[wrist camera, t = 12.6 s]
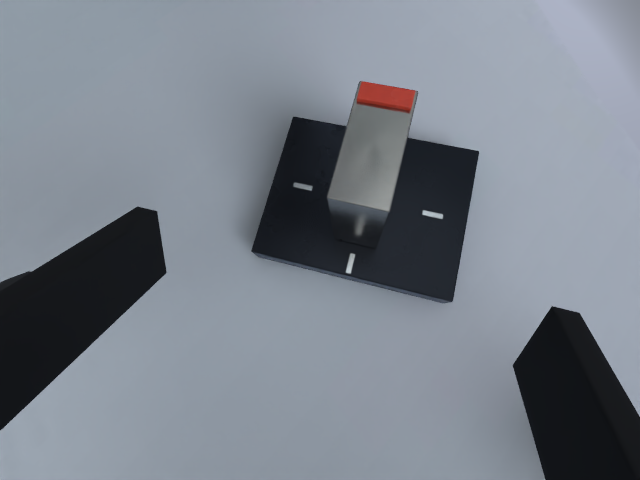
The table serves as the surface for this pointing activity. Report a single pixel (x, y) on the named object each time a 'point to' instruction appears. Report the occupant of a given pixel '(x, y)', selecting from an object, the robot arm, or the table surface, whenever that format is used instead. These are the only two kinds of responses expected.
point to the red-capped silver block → (370, 162)
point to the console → (401, 226)
